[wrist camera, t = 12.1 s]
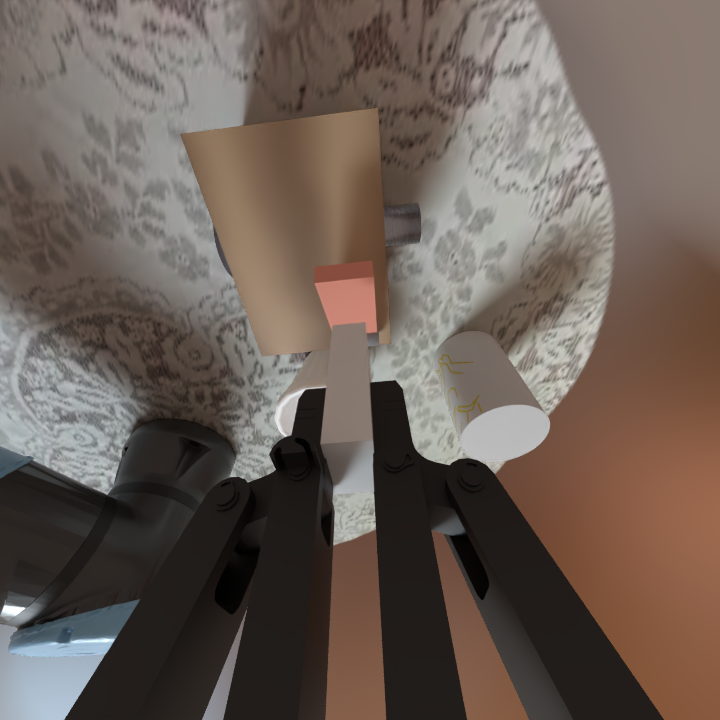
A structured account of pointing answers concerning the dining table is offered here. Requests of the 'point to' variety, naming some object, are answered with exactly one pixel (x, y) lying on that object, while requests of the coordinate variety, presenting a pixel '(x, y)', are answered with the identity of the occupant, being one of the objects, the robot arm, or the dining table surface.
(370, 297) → the keeper tab
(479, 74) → the dining table surface
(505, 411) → the cup
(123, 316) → the dining table surface
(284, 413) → the cup
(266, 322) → the block
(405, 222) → the hitch pin
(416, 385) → the dining table surface
